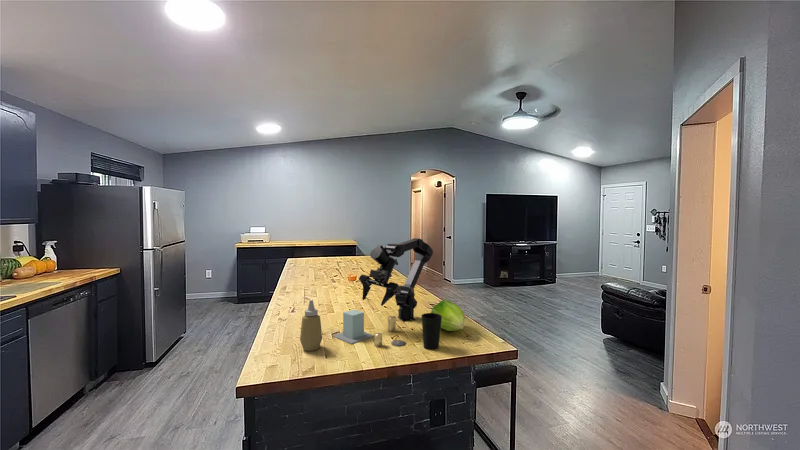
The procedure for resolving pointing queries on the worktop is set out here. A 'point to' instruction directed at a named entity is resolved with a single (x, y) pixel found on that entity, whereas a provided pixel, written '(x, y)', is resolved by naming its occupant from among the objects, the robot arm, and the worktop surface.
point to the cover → (353, 324)
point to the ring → (398, 343)
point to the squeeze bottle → (311, 329)
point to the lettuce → (449, 315)
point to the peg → (391, 324)
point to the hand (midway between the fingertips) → (372, 302)
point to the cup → (431, 330)
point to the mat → (352, 341)
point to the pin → (378, 339)
